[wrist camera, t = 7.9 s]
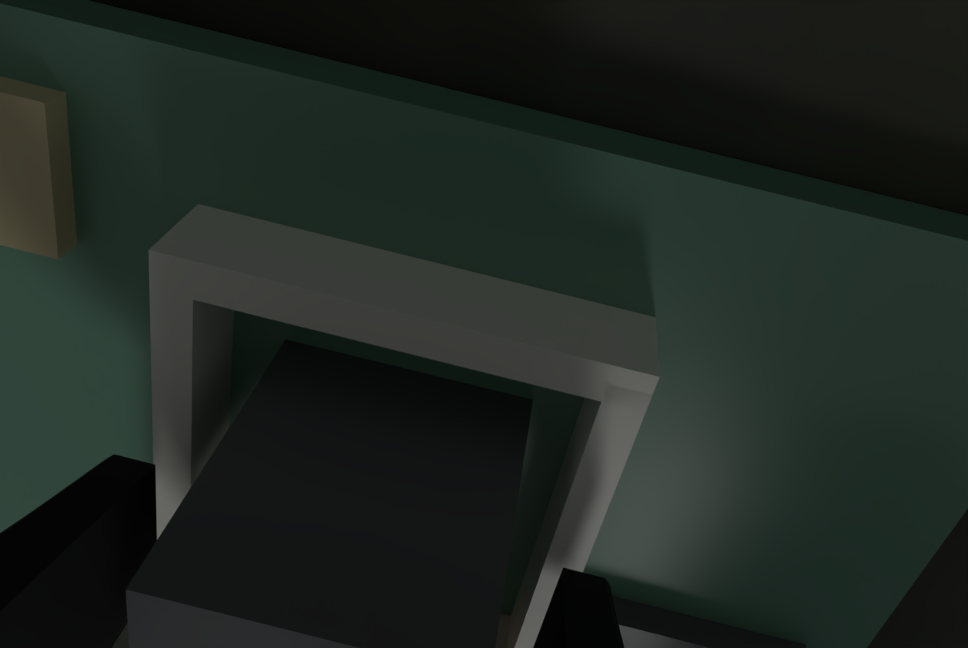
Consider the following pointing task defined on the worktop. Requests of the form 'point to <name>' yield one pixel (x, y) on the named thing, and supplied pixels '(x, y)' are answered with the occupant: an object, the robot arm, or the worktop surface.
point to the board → (486, 316)
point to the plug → (342, 515)
